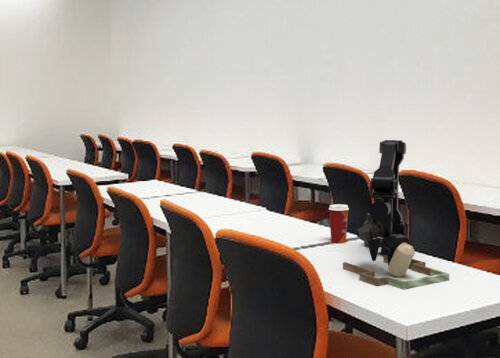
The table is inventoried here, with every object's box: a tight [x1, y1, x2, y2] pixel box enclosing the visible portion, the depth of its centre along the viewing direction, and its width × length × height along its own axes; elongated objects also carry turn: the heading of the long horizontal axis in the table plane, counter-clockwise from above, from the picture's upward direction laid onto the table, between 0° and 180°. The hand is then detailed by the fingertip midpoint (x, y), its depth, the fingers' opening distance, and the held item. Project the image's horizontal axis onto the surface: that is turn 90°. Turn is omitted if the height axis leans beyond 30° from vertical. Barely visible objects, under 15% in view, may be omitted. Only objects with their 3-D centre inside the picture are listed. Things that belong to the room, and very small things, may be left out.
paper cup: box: [328, 203, 350, 244], centre depth 247 cm, size 8×8×14 cm
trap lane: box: [342, 255, 450, 290], centre depth 200 cm, size 26×28×2 cm
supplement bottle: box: [363, 212, 382, 249], centre depth 239 cm, size 7×7×12 cm
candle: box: [387, 243, 416, 277], centre depth 196 cm, size 6×6×10 cm
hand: (381, 263), depth 204 cm, fingers open, 7 cm apart
